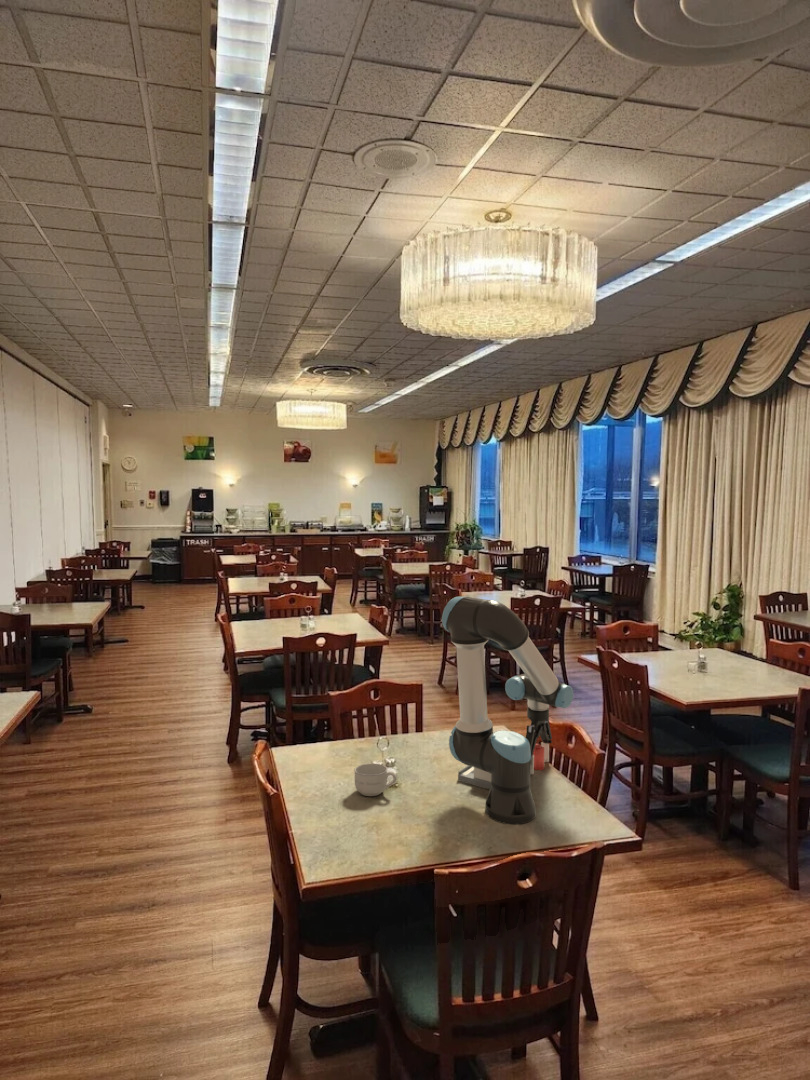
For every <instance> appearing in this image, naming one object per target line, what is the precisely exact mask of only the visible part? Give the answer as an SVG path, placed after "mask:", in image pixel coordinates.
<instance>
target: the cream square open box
mask: <svg viewBox="0 0 810 1080" xmlns="http://www.w3.org/2000/svg"><path fill="white" fill-rule="evenodd" d="M474 777H475V778H478V779H482V780H485V781H489V782H491V773H489V772H486V771H483V770H481V769H478V768H475V767H474Z"/></svg>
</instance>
